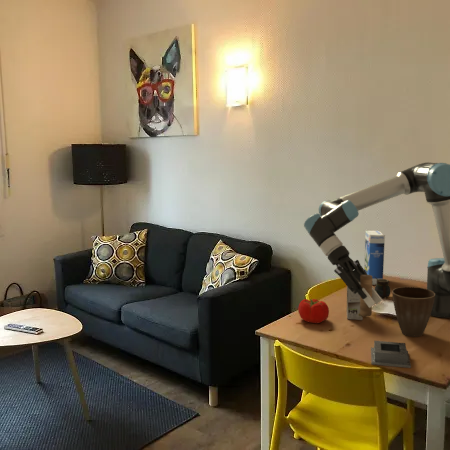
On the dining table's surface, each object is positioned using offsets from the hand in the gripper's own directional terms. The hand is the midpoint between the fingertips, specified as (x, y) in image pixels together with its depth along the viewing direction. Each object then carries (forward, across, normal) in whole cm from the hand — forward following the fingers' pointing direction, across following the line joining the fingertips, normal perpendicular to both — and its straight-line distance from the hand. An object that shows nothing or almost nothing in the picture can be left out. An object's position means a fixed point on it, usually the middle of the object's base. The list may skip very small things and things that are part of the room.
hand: (375, 303), depth 171 cm
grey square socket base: (+17, +5, -6) cm, 18 cm away
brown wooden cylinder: (+1, 0, -6) cm, 6 cm away
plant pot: (+14, -21, -9) cm, 27 cm away
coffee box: (-4, -24, -27) cm, 36 cm away
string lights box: (-19, -77, -42) cm, 90 cm away
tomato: (-11, -8, -34) cm, 36 cm away
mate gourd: (-7, -56, -31) cm, 64 cm away
